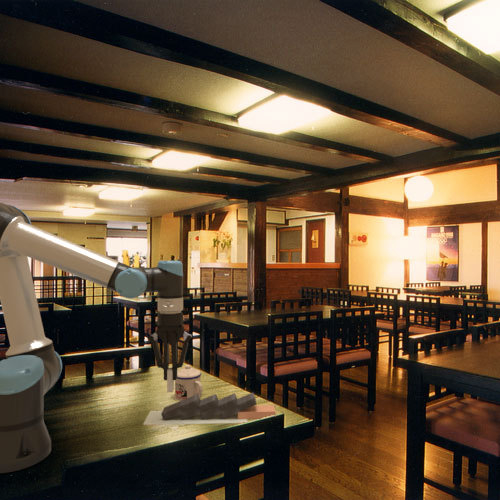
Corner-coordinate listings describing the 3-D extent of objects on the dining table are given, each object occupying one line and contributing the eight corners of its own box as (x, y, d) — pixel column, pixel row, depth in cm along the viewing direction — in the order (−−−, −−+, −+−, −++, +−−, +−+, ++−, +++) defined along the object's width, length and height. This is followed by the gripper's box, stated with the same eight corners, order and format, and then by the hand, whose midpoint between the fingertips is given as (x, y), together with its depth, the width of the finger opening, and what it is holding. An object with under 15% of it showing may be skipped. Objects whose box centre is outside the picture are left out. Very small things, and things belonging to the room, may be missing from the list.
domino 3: (200, 413, 114) (234, 398, 114) (201, 407, 119) (234, 393, 119) (202, 419, 114) (237, 405, 114) (204, 413, 119) (237, 399, 119)
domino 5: (238, 412, 119) (273, 411, 120) (238, 419, 114) (275, 418, 115) (238, 405, 119) (273, 405, 120) (238, 412, 114) (275, 411, 115)
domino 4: (219, 412, 114) (253, 398, 115) (219, 406, 119) (253, 392, 120) (221, 419, 114) (256, 404, 115) (222, 412, 119) (255, 398, 120)
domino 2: (179, 413, 114) (214, 399, 114) (182, 407, 119) (215, 393, 119) (182, 420, 114) (217, 406, 114) (184, 413, 119) (218, 399, 119)
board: (142, 428, 111) (142, 424, 111) (150, 414, 121) (150, 410, 121) (247, 426, 112) (247, 422, 112) (246, 412, 122) (246, 409, 122)
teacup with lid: (169, 399, 133) (169, 365, 133) (190, 392, 140) (190, 360, 140) (190, 409, 125) (190, 372, 125) (212, 401, 131) (212, 366, 132)
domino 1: (161, 413, 114) (196, 399, 114) (164, 407, 119) (198, 393, 119) (163, 420, 114) (198, 406, 114) (166, 413, 119) (200, 400, 119)
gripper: (145, 313, 113) (145, 395, 112) (190, 313, 113) (190, 394, 113) (151, 310, 120) (151, 386, 120) (193, 309, 121) (193, 386, 120)
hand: (170, 390), depth 116 cm, fingers closed
